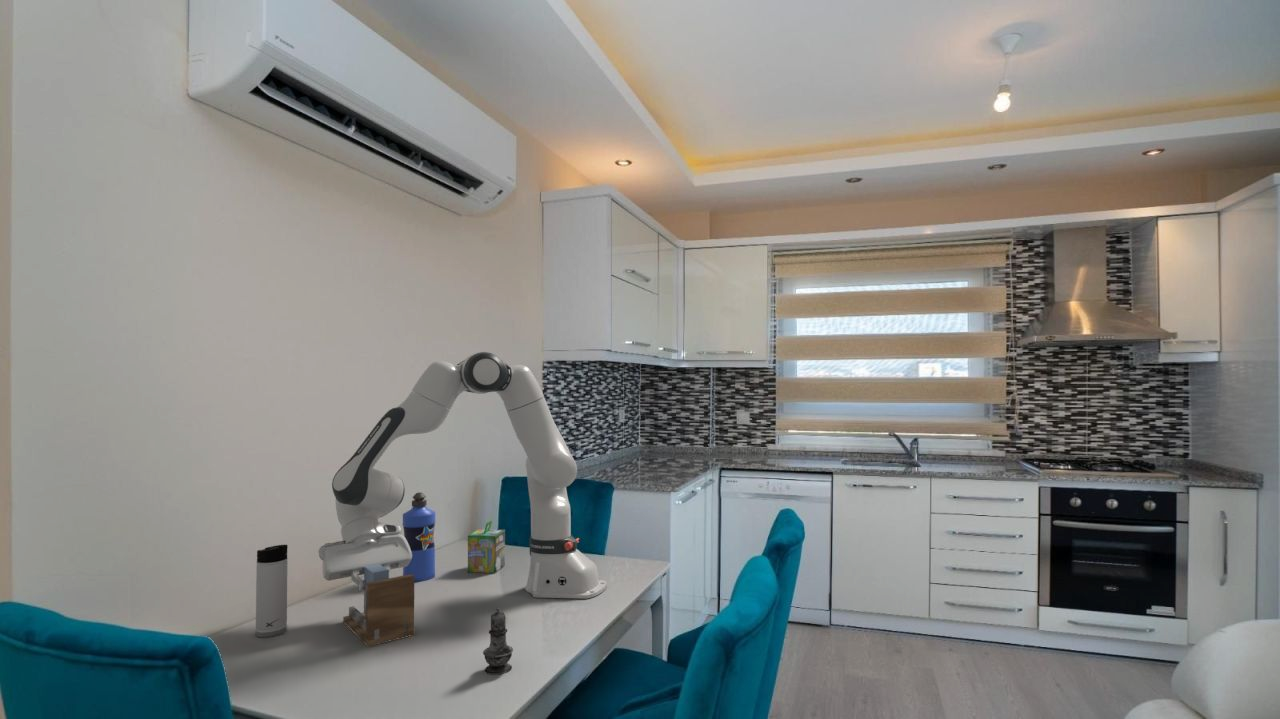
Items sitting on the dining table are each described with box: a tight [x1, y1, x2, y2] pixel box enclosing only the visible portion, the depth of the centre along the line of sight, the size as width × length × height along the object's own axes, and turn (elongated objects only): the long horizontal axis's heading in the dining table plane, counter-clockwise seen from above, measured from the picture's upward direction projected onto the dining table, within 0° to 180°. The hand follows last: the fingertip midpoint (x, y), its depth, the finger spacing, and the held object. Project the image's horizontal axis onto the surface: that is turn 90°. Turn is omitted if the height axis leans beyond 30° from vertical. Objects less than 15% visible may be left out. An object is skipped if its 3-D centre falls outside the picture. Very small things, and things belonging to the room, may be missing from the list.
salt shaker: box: [482, 607, 514, 676], centre depth 127 cm, size 6×6×12 cm
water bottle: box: [402, 492, 436, 583], centre depth 192 cm, size 9×9×25 cm
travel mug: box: [255, 544, 289, 638], centre depth 149 cm, size 6×7×20 cm
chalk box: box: [467, 519, 506, 574], centre depth 200 cm, size 9×9×15 cm
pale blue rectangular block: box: [363, 564, 390, 615], centre depth 151 cm, size 7×4×11 cm, turn 39°
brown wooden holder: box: [342, 574, 415, 647], centre depth 150 cm, size 20×10×13 cm, turn 39°
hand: (374, 586), depth 152 cm, fingers closed on pale blue rectangular block, 3 cm apart
